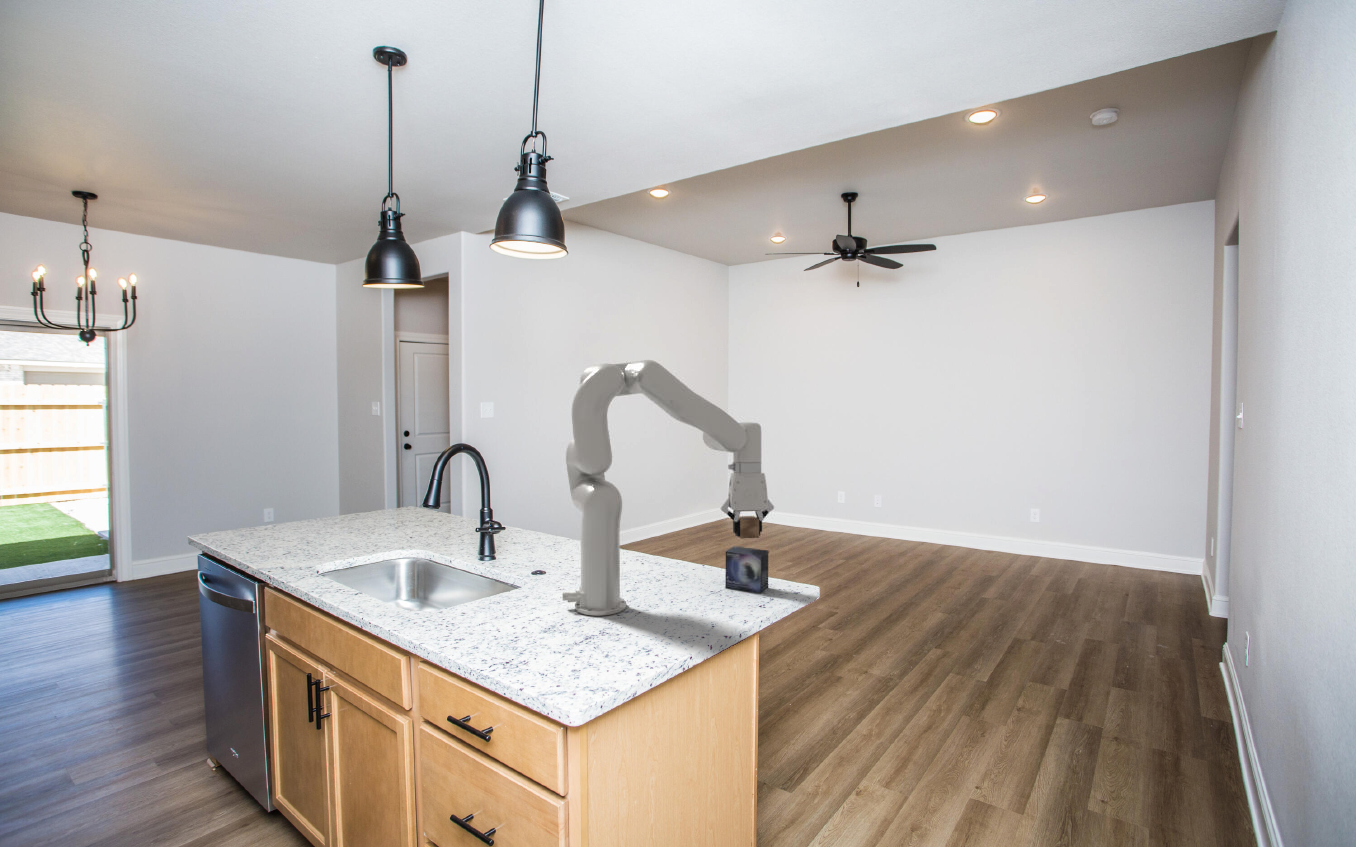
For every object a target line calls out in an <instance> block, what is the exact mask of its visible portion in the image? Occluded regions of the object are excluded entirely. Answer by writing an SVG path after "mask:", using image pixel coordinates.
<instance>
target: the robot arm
mask: <svg viewBox="0 0 1356 847" xmlns="http://www.w3.org/2000/svg"><path fill="white" fill-rule="evenodd" d="M637 394H642V395H644V396H645V397H646V398H648V399H649V400H650V401H651V402H653V403H654V404H655V405H656V406H658V407H659V408H660V409H661V410H663V411H664V412H665V413H667V415H669V416H670V417H672V418H673V419H674V420H676V421H679V422H680V423H683V424H686V425H688V426H691V427H694V428H696V429H698V430H700V431H701V432H702V440H703V442H704V444H705V445H706V447H708V448H709V449H710V450H714V451H719V452H726V453H733V455H732V456H733V459H732V460H733V461H732V463H731V464H728V466H727V468H728V470H731V471H732V473H731V474H730V478H729V482H728V483H729V486H728V496H727V499H726V500H725V501H724V503H723V504H722V506H720V510H721V511H722V512H723V513H725V515H727V516H728V517H729V518H730V519H731V520H732V531H733V534H734V535H735V536H736V537H737V538H740V537H739V536H740V522H739V516H741V512H754V513H755V517H756V518H758V519H759V537H760V536H761V533H762V531H763V521H764V520H765V518H766V516H768V515H769V513H771V512H772V511H773V510H774V509H775V506H774V504H773V503H772V502H771V501H770V499H769V498H768V487H767V480H766V475H765V473H764V472H762V427H761V425H760V423H758V422H749V421H747V422H745V421H744V422H738V421H737V420H736V419H734V418H733V417H732V416H731V415H730V414H729V413H727V412H726V411H725V410H723V409H722V408H720V407H718V406H717V405H715V403H714V404H713V403H712V402H711V401H708V400H707V399H706V398H704V397H703V396H701V395H699V394H697V393H696V392H694V390H692V389H690V388H689V387H688V386H687V385H686V384H684V382H682V381H681V380H680V379H679V378H677V377H676V376H675V375H673V373H672V372H670V371H669V370H668V369H666V368H665V367H664V366H663V365H661V364H660V363H658V362H657V361H655V360H651V359H646V360H645V359H644V360H637V361H636V360H635V361H631V362H624V363H623V362H622V363H602V364H601V363H599V364H595V365H591V366H589V367H587V368H585V369H584V371H582V374H581V375H580V379H579V387H578V389H577V391H576V393H575V395H574V398H573V400H572V401H573V402H572V406H571V422H572V435H573V438H572V439H571V441H570V442H569V443H568V445H567V448H566V451H565V464H566V471H567V477H568V484H569V489H570V490H569V491H570V497H571V499H572V502H573V505H574V506H575V508H576V509H577V510H579V511H580V512H582V518H581V519H582V520H581V524H580V526H581V527H580V587H579V590H575V591H574V592H570V591H569V592H567V591H566V592H562V601H567V603H574V610H575V611H576V612H578V613H580V614H582V615H585V616H595V617H597V616H600V617H601V616H610V615H615V614H618V613H621V612H623V611H624V610H625V609H626V608H627V601H626V600H625V599H624V598H622V597H621V585H620V582H621V578H620V577H621V573H620V572H621V570H620V569H621V568H620V567H621V565H620V564H621V562H620V561H621V560H620V559H621V557H620V556H621V555H620V552H621V550H620V549H621V548H620V547H621V546H620V545H621V544H620V540H621V539H620V538H621V537H620V536H621V535H620V531H621V518H622V512H623V498H622V495H621V492H620V491H619V489H618V488H617V487H616V486H615V485H614V484H613V483H611V482H610V481H607V480H606V477H605V473H606V472H607V471H609V469H610V467H611V466H612V463H613V452H612V446H611V439H610V431H609V426H608V423H609V422H608V411H609V407H610V405H611V402H612V401H613V400H614V399H615V397H622V396H623V397H624V396H631V395H637ZM729 508H730V509H732V511H731V510H729Z"/></svg>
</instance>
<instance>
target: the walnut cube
mask: <svg viewBox="0 0 1356 847" xmlns="http://www.w3.org/2000/svg"><path fill="white" fill-rule="evenodd" d="M739 522H740V536H739V537H738V538H740V539H743V540H744V539H759V538H760V536H759V519H758V518H756V515H745V516H743V515H742V516H741V515H740V516H739Z"/></svg>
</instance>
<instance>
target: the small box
mask: <svg viewBox="0 0 1356 847" xmlns="http://www.w3.org/2000/svg"><path fill="white" fill-rule="evenodd" d="M769 553H770V551H769V550H766V549H758V548H752V547H744V546H743V547H742V546H736V545H735V546H732V547H731V548H729V549H727V550H726V551H725V581H724V582H725V584H724V585H725V589H728V590H729V589H730V590H736V591H743V592H746V593H747V592H748V593H753V594H754V593H755V594H760V595H761V594H763V593H764V592H765V591H766V590H768V589H769V555H770V554H769Z"/></svg>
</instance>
